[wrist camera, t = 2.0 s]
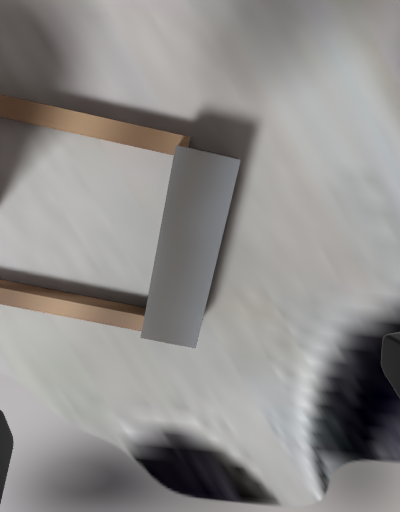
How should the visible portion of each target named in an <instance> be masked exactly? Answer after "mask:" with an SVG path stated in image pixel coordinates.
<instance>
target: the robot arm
mask: <svg viewBox="0 0 400 512" xmlns="http://www.w3.org/2000/svg"><path fill="white" fill-rule="evenodd" d="M381 366H382V370H383V372H384V374H385V375H386V377H387V379H388V380H389V382H390V383H391V385H392V386H393V388H394V389H395V391H396V393H397V394H398V396H399V397H400V332H397V333H392V334H387V335H385V336H384V337H383V341H382V355H381ZM12 450H13V436H12V433H11V431H10V428H9V426H8V424H7V421H6V418H5V416H4V414H3V412H2V411H1V410H0V503H1V499H2V494H3V489H4V485H5V481H6V476H7V472H8V467H9V463H10V459H11V454H12Z"/></svg>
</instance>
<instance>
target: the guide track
mask: <svg viewBox="0 0 400 512" xmlns="http://www.w3.org/2000/svg"><path fill="white" fill-rule="evenodd" d="M0 117H3V118H8V119H12V120H17V121H21V122H26V123H30V124H35V125H39V126H44V127H48V128H53V129H57V130H62V131H67V132H71V133H76V134H80V135H85V136H89V137H94V138H98V139H103V140H107V141H112V142H116V143H121V144H125V145H130V146H134V147H139V148H143V149H148V150H152V151H157V152H162V153H166V154H171V155H174V158H173V164H172V169H171V175H170V180H169V186H168V191H167V196H166V202H165V207H164V213H163V218H162V224H161V229H160V235H159V240H158V246H157V251H156V256H155V262H154V267H153V273H152V278H151V284H150V289H149V295H148V300H147V305H146V308H143V307H138V306H133V305H128V304H123V303H118V302H113V301H108V300H103V299H98V298H92V297H87V296H82V295H77V294H72V293H67V292H62V291H57V290H52V289H47V288H41V287H36V286H31V285H26V284H21V283H16V282H11V281H6V280H1V279H0V304H2V305H8V306H13V307H18V308H23V309H28V310H34V311H39V312H44V313H49V314H54V315H60V316H65V317H70V318H75V319H80V320H86V321H91V322H96V323H101V324H106V325H112V326H117V327H122V328H127V329H132V330H138V331H142V333H141V338H144V339H150V340H155V341H160V342H165V343H170V344H176V345H181V346H186V347H191V348H196V345H197V341H198V336H199V332H200V328H201V324H202V320H203V316H204V311H205V307H206V303H207V299H208V295H209V291H210V286H211V282H212V278H213V274H214V270H215V266H216V261H217V257H218V253H219V249H220V245H221V241H222V236H223V232H224V228H225V224H226V220H227V216H228V211H229V207H230V203H231V199H232V195H233V191H234V186H235V182H236V178H237V174H238V170H239V166H240V161H241V160H240V159H237V158H234V157H230V156H225V155H221V154H216V153H212V152H207V151H203V150H198V149H194V148H189V145H190V140H191V137H188V136H183V135H179V134H174V133H170V132H165V131H161V130H157V129H152V128H148V127H143V126H139V125H134V124H130V123H125V122H121V121H116V120H112V119H108V118H103V117H99V116H94V115H90V114H85V113H81V112H76V111H72V110H67V109H63V108H59V107H54V106H50V105H45V104H41V103H36V102H32V101H27V100H23V99H18V98H14V97H10V96H5V95H1V94H0Z"/></svg>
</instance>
